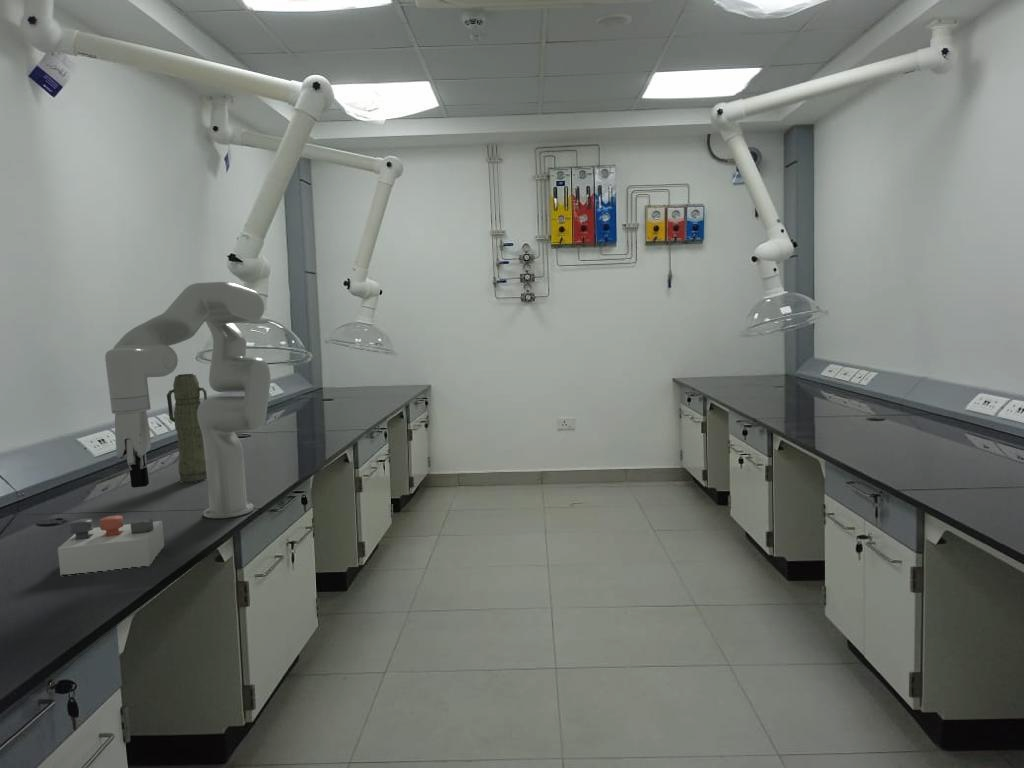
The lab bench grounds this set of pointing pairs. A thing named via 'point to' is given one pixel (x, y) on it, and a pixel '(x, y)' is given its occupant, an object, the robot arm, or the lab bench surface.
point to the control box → (110, 550)
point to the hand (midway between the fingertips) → (140, 485)
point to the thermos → (188, 427)
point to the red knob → (111, 525)
